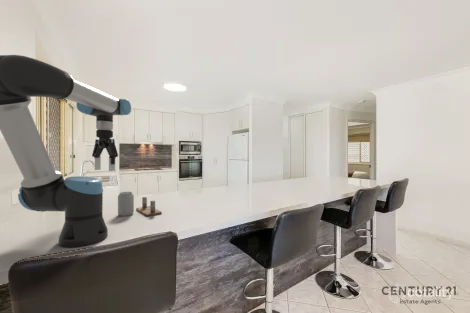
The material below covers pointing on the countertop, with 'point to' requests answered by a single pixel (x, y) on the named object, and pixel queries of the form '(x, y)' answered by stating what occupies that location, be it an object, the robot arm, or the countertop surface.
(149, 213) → the peg cradle
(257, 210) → the countertop surface
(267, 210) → the countertop surface
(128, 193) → the can
